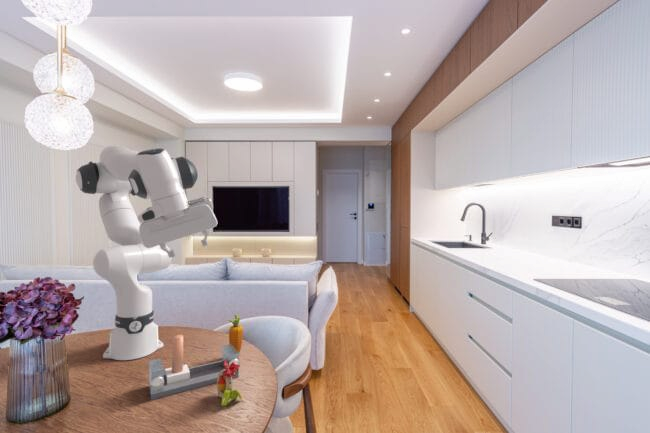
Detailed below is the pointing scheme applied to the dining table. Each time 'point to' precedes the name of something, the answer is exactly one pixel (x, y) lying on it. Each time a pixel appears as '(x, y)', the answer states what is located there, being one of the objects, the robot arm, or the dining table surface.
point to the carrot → (236, 334)
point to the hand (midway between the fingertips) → (189, 251)
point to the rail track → (198, 374)
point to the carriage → (177, 363)
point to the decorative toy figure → (227, 383)
